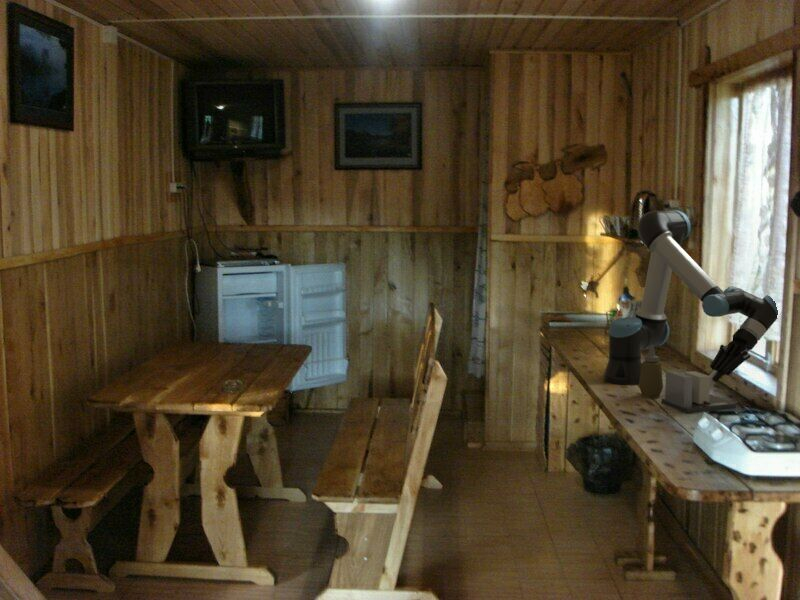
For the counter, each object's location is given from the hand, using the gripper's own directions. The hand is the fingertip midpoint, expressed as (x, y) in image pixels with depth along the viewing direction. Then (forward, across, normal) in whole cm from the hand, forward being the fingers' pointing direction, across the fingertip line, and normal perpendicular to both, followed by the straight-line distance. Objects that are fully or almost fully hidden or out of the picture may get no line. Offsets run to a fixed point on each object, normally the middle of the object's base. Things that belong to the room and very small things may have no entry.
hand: (705, 387), depth 273 cm
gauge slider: (+7, -1, +1) cm, 7 cm away
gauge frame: (+6, 0, -2) cm, 7 cm away
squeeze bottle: (+12, +16, +3) cm, 20 cm away
